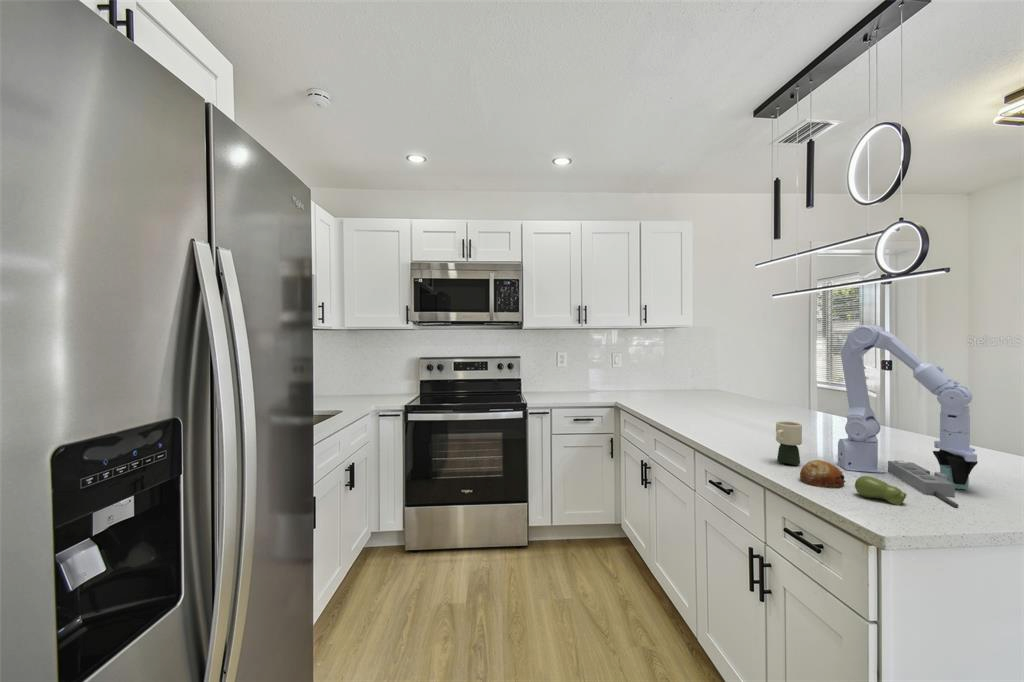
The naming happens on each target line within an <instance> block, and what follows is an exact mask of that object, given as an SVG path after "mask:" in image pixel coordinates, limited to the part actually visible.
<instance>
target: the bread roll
mask: <svg viewBox="0 0 1024 682" xmlns="http://www.w3.org/2000/svg"><path fill="white" fill-rule="evenodd" d="M799 478H800V479H801V481H802V483H804V484H806V483H807V485H810V486H814V487H818V488H826V487H827V489H839V488H842V487H843V485H844V484H845V482H846V480H845V475H844V472H843V471H841V470H840V469H839V468H838V467H836V465H833V464H832V463H829V462H828V461H824V460H821V459H814V460H810V461H808V462H806V463H805V464H804V465H802V467H801V469H800V472H799ZM841 486H842V487H841ZM838 487H839V488H838Z"/></svg>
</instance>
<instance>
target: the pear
mask: <svg viewBox="0 0 1024 682" xmlns="http://www.w3.org/2000/svg"><path fill="white" fill-rule="evenodd" d="M854 489H855V491H856V492H857V493H858V495H860V496H862V497H863V498H867V499H873V498H874V499H879V498H880V499H884V500H886V501H887V502H888V503H890V504H892V505H895V506H900V505H902V504H903V503H904V500H906V498H907V496H908V494H907V493H906V492H903V491H902V490H901V489H900V488H898V487H896V486H893V485H890V484H888V483H887V482H885V481H883V480H881V479H878V478H877V477H876V478H875V477H872V476H870V475H869V476H868V475H861V476H859V477H857V479H856V480H855V482H854Z"/></svg>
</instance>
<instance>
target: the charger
mask: <svg viewBox="0 0 1024 682" xmlns="http://www.w3.org/2000/svg"><path fill="white" fill-rule="evenodd" d="M934 476H939V477H941V478H943V479H945V480H947V481H949V482H951V483H953V484H955V483H954V481H953V477H952V470H951V466H950V465H939V472H938V471H934ZM969 476H970V475H969ZM969 476H968V479H967V482H966V484H965V485H961V484H955V489H959V490H960V489H961V490H969V487H970V486H969V485H970V484H969V480H970V477H969Z"/></svg>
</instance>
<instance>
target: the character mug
mask: <svg viewBox="0 0 1024 682" xmlns="http://www.w3.org/2000/svg"><path fill="white" fill-rule="evenodd" d="M775 432H776V433H775V434H776V436H775V440H776V442H777V443H779V445H778V451H777V457H776V458H777V459H776V461H777V462H778V463H783V464H784V465H787V464H788V465H795V466H797V465H798V466H799V465H800V464H801V456H800V450H799V446H800V445H802V443H803V442H802V441H803V424H802V423H801V422H800V423H799V422H794V421H787V420H785V421H784V420H783V421H776V422H775Z"/></svg>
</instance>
